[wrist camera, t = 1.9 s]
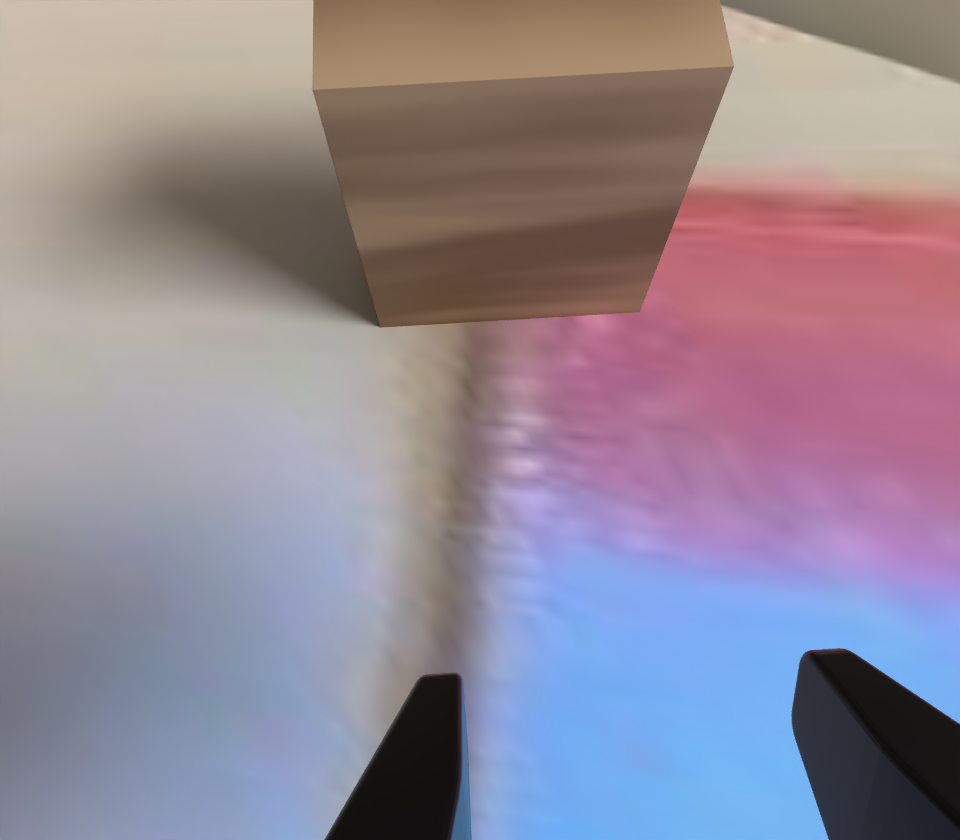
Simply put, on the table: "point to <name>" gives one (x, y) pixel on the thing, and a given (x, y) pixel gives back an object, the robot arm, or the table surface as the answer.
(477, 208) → the brown block
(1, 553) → the table surface
